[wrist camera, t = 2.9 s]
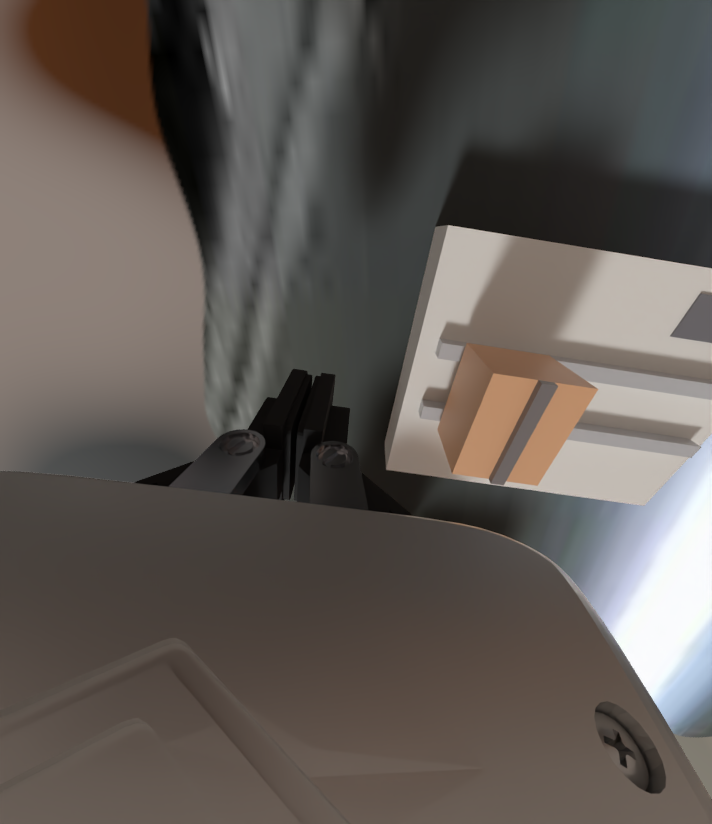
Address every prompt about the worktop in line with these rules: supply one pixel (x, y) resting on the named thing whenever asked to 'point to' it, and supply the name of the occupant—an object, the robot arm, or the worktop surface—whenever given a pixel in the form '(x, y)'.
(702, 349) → the panel
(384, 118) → the worktop surface
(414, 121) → the worktop surface
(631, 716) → the robot arm
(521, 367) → the fader knob
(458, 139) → the worktop surface
